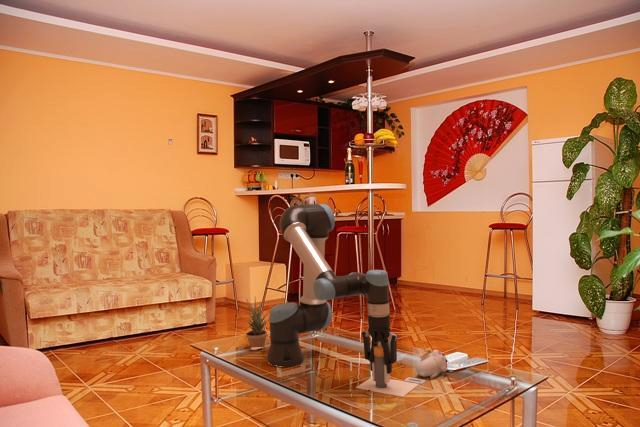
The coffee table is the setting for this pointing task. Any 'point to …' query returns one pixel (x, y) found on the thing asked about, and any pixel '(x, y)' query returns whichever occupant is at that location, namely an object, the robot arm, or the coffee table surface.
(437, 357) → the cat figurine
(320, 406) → the coffee table surface
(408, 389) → the paper
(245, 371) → the coffee table surface
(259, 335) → the potted plant
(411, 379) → the plate
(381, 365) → the marker
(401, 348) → the coffee table surface
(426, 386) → the coffee table surface
